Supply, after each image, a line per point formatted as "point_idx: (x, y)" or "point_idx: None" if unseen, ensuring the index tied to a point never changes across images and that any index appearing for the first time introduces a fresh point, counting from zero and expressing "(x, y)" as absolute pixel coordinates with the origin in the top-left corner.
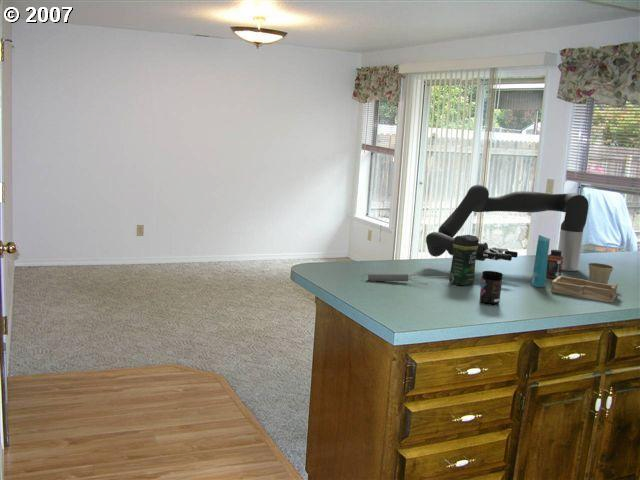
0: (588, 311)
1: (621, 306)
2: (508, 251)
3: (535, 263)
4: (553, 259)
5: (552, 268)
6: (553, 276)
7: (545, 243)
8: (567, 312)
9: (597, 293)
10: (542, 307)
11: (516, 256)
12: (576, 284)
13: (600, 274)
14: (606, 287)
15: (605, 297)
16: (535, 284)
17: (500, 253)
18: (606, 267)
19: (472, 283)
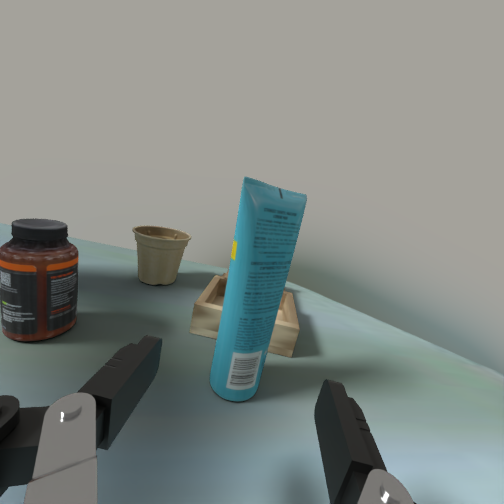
0: (383, 324)
1: (295, 288)
2: (114, 398)
3: (260, 315)
4: (69, 263)
5: (68, 297)
6: (73, 321)
7: (299, 217)
8: (439, 351)
9: None
10: (479, 390)
11: (156, 366)
12: (212, 298)
13: (183, 251)
14: None
15: None
16: (258, 384)
17: (391, 485)
18: (145, 231)
19: None
